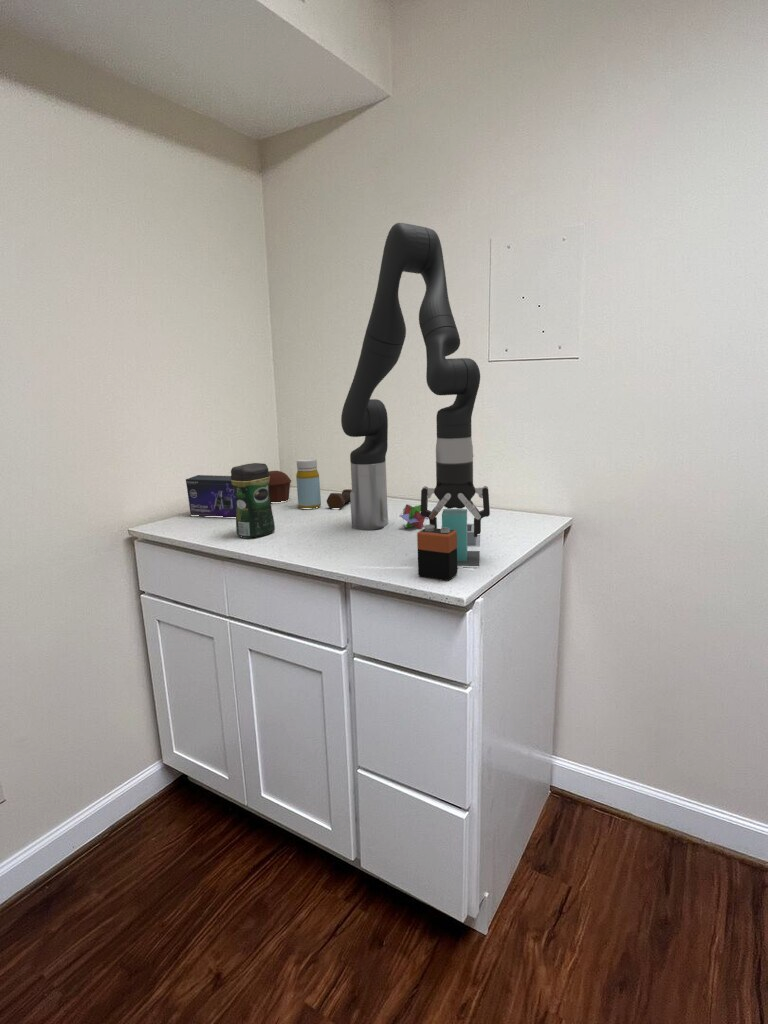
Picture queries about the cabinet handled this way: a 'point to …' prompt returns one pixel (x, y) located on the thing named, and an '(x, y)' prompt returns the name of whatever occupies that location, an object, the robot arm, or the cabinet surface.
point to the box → (211, 496)
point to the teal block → (457, 529)
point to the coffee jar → (252, 500)
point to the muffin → (279, 486)
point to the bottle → (308, 483)
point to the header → (472, 536)
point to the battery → (437, 552)
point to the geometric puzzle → (413, 516)
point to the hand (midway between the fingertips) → (455, 535)
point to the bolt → (339, 499)
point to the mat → (470, 559)
